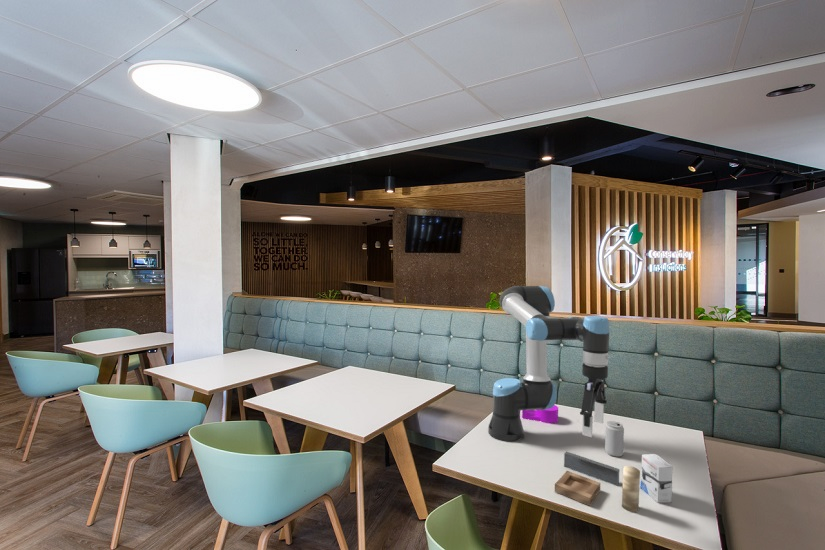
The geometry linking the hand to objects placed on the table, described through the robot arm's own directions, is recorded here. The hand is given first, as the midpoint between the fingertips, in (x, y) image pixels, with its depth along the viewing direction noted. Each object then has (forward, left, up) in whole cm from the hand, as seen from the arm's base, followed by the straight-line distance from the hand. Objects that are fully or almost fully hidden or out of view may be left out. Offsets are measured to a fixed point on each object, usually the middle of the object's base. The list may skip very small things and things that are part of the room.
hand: (593, 428), depth 127 cm
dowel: (+11, 0, -22) cm, 24 cm away
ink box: (+16, +13, -22) cm, 30 cm away
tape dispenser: (-37, +47, -22) cm, 64 cm away
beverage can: (-2, +34, -22) cm, 40 cm away
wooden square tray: (-4, -2, -22) cm, 22 cm away
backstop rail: (-4, +11, -22) cm, 25 cm away
